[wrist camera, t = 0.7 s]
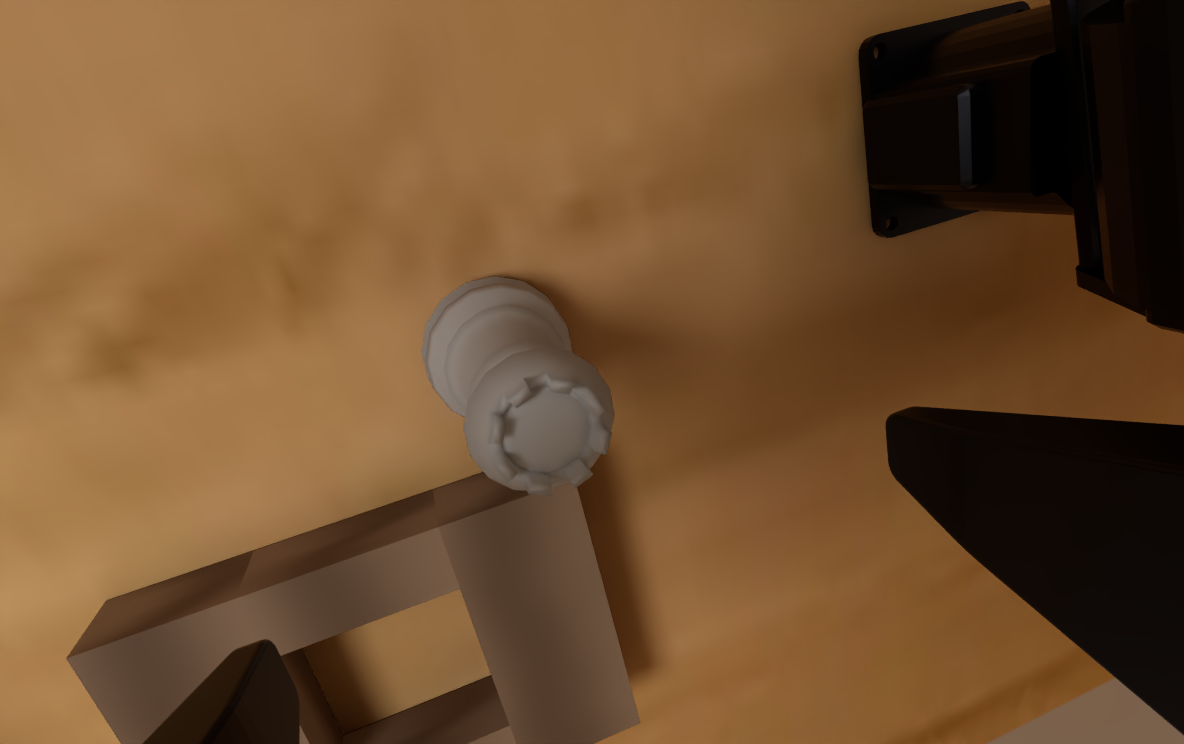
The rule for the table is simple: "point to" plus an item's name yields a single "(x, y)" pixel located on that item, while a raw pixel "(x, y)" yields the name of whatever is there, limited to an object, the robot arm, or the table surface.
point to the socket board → (375, 590)
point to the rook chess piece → (517, 385)
